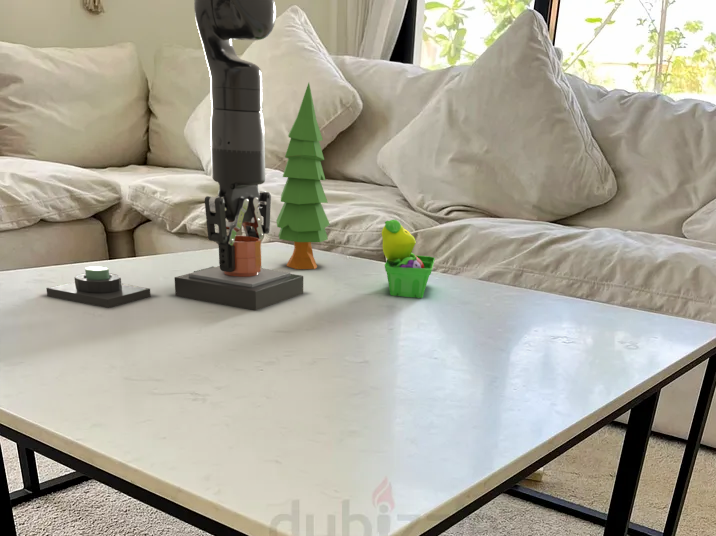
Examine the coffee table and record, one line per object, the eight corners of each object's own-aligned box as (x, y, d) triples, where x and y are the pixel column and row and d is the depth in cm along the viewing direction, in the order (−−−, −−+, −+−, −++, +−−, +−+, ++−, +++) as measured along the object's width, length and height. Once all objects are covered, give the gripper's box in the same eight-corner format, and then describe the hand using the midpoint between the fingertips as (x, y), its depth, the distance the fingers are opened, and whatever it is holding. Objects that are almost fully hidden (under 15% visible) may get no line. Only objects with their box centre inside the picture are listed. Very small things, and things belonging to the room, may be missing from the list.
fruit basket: (429, 301, 125) (436, 227, 119) (374, 297, 125) (378, 223, 120) (432, 287, 135) (438, 218, 130) (381, 283, 135) (385, 214, 130)
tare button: (81, 279, 111) (80, 268, 111) (97, 276, 114) (96, 265, 113) (99, 282, 110) (97, 271, 110) (114, 279, 113) (113, 268, 112)
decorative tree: (330, 265, 147) (336, 83, 133) (324, 275, 138) (329, 82, 124) (279, 261, 147) (280, 79, 133) (269, 270, 138) (269, 78, 125)
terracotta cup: (212, 273, 117) (211, 238, 114) (235, 267, 122) (234, 233, 119) (246, 279, 115) (246, 243, 112) (268, 272, 120) (268, 238, 117)
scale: (175, 297, 116) (173, 273, 115) (228, 282, 128) (227, 260, 126) (255, 312, 112) (255, 287, 110) (303, 295, 123) (303, 272, 122)
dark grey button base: (47, 297, 111) (44, 276, 110) (92, 287, 119) (89, 267, 117) (108, 309, 108) (106, 287, 106) (150, 298, 115) (149, 277, 114)
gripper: (231, 149, 103) (235, 278, 111) (287, 147, 115) (286, 264, 122) (184, 145, 105) (191, 271, 113) (243, 143, 117) (245, 258, 125)
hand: (240, 267), depth 118 cm, fingers open, 6 cm apart
